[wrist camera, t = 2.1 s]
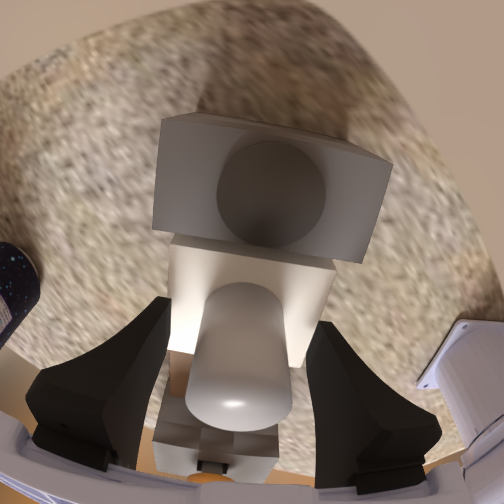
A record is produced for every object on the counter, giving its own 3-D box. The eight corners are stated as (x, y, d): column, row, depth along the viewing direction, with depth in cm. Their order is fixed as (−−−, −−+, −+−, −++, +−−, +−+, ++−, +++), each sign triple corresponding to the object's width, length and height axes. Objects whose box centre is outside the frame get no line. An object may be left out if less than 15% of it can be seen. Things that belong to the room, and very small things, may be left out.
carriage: (323, 240, 16) (370, 354, 9) (295, 331, 18) (310, 449, 11) (184, 217, 15) (129, 322, 8) (177, 313, 18) (143, 429, 11)
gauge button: (239, 456, 20) (237, 490, 17) (233, 472, 21) (231, 503, 19) (190, 449, 20) (185, 483, 17) (189, 467, 21) (185, 497, 18)
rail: (356, 143, 15) (409, 170, 10) (261, 430, 27) (262, 488, 21) (185, 111, 15) (143, 118, 9) (168, 417, 26) (156, 474, 21)
